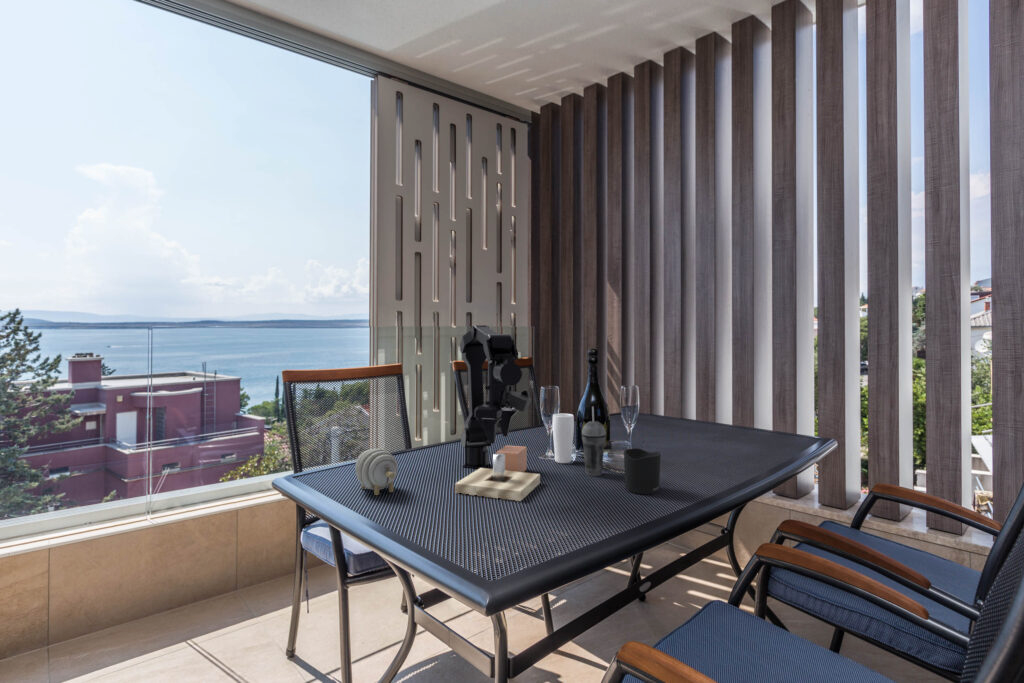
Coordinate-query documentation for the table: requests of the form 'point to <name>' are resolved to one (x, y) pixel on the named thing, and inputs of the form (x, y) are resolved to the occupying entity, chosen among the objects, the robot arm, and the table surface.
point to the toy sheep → (376, 470)
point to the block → (515, 458)
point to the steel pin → (499, 467)
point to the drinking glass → (563, 436)
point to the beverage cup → (593, 446)
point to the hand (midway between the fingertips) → (498, 439)
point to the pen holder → (641, 471)
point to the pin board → (498, 484)
